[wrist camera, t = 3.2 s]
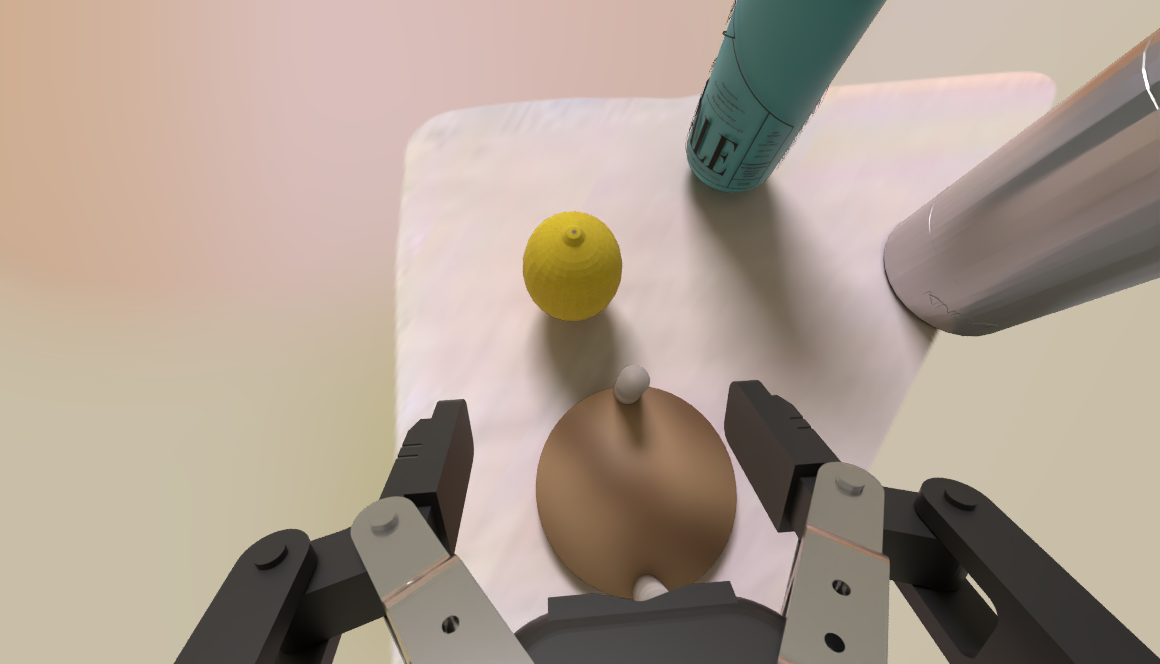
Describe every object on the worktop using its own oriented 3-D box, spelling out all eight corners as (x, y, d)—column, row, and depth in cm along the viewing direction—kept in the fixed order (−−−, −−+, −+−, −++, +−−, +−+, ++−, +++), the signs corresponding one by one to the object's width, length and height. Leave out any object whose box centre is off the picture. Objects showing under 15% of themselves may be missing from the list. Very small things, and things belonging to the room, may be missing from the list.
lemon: (613, 339, 27) (631, 288, 20) (525, 334, 27) (509, 280, 20) (615, 261, 29) (632, 185, 22) (532, 256, 29) (520, 179, 22)
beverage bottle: (781, 162, 32) (1091, -289, 13) (738, 226, 30) (1026, -191, 11) (704, 120, 33) (889, -355, 14) (658, 180, 31) (801, -275, 12)
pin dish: (598, 355, 27) (604, 336, 23) (760, 450, 26) (794, 445, 22) (498, 520, 24) (485, 529, 20) (676, 639, 23) (698, 672, 19)
